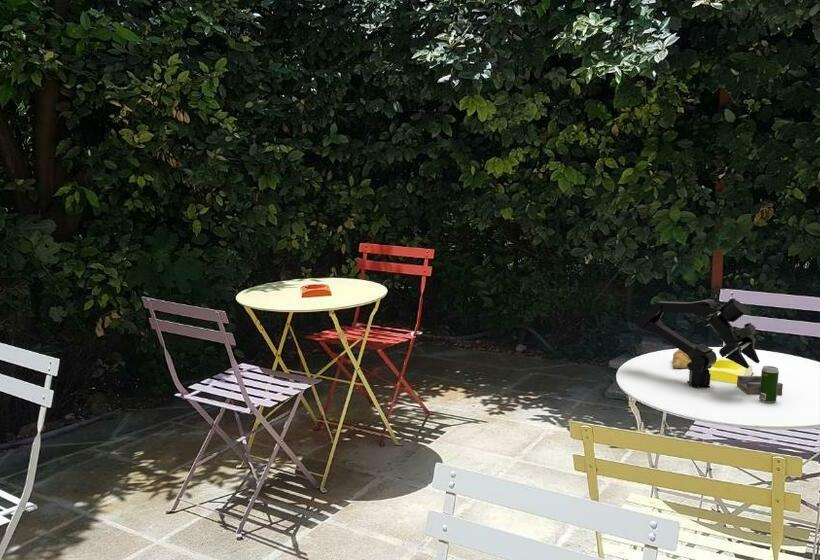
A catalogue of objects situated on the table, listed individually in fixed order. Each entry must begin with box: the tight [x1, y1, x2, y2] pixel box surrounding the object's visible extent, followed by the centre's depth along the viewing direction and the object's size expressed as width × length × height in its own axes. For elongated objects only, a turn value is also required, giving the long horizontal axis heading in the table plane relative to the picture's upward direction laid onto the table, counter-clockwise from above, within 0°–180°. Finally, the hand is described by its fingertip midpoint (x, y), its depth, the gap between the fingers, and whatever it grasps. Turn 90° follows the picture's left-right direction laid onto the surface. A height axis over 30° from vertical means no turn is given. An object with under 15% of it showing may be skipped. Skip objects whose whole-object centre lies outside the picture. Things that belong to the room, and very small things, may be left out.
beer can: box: [758, 365, 780, 404], centre depth 252 cm, size 5×5×12 cm
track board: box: [736, 375, 784, 396], centre depth 264 cm, size 12×10×4 cm
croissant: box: [672, 349, 691, 369], centre depth 298 cm, size 21×10×8 cm, turn 138°
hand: (753, 365), depth 255 cm, fingers open, 9 cm apart
